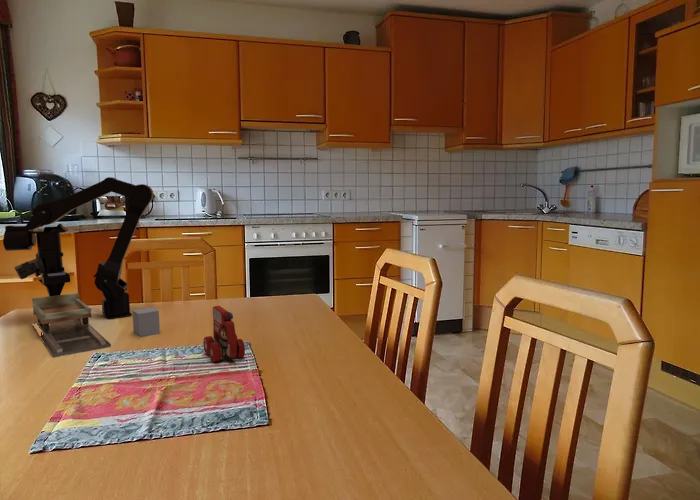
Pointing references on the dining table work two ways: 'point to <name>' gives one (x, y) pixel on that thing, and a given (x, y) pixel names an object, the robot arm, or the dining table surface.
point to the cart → (60, 309)
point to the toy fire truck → (223, 337)
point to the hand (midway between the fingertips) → (54, 304)
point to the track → (71, 337)
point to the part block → (146, 322)
